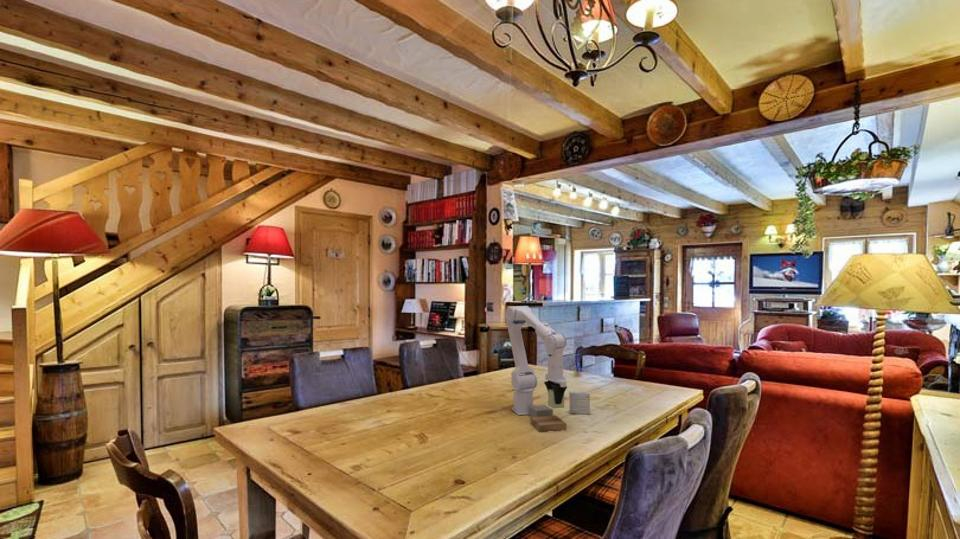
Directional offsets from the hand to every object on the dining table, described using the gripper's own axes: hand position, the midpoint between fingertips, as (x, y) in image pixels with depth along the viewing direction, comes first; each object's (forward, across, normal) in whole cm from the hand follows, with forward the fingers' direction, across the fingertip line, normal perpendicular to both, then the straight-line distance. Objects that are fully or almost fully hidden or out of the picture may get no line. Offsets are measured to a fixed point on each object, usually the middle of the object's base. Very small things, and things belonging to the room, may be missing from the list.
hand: (555, 402), depth 166 cm
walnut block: (+9, -2, +4) cm, 10 cm away
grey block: (+9, +10, +2) cm, 13 cm away
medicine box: (+9, +12, -16) cm, 22 cm away
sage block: (+2, 0, 0) cm, 2 cm away
